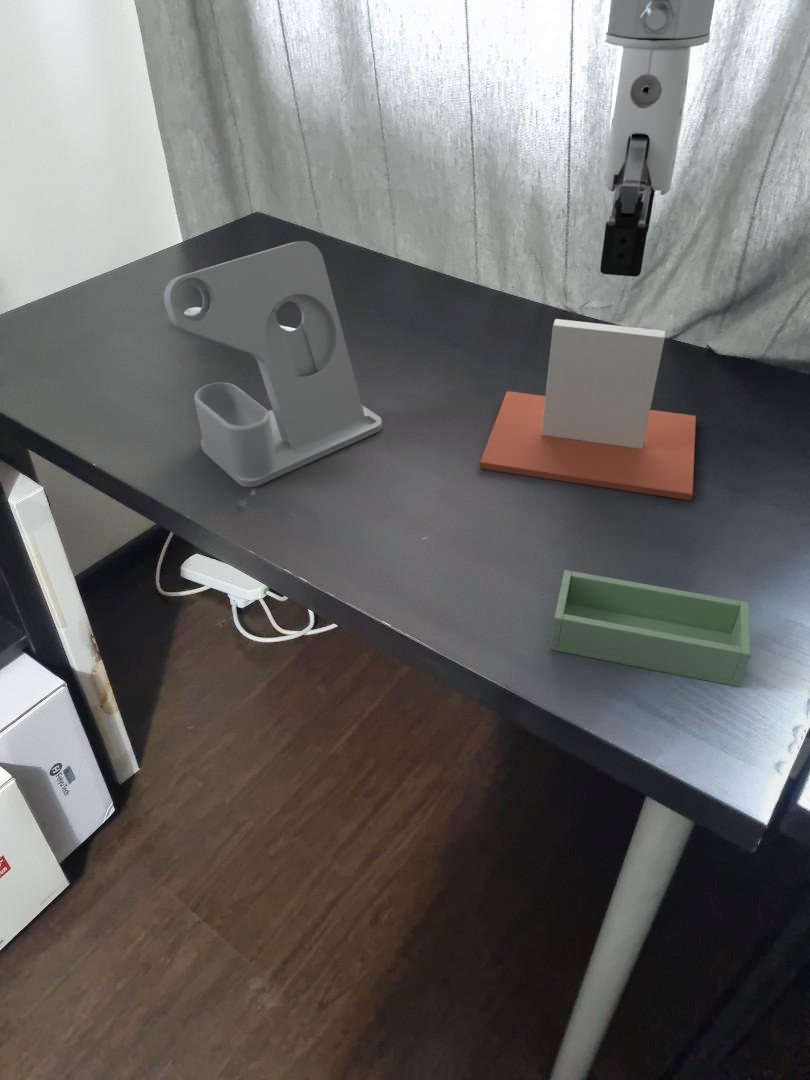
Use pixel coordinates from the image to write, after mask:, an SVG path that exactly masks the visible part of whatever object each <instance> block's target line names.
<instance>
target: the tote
mask: <svg viewBox="0 0 810 1080" xmlns="http://www.w3.org/2000/svg"><path fill="white" fill-rule="evenodd" d="M562 574H563V575H562V580H561V584H560V589H559V594H558V598H557V602H556V609H555V612H554V616H553V624H552V630H551V638H550V646H549V650H551V651H555V652H561V653H565V654H570V655H575V656H580V657H585V658H591V659H596V660H601V661H605V662H610V663H611V662H612V663H616V664H621V665H626V666H631V667H637V668H641V669H645V670H651V671H657V672H661V673H665V674H671V675H676V676H681V677H687V678H692V679H697V680H702V681H707V682H712V683H716V684H723V685H727V686H731V687H732V686H733V687H736V688H737V687H738V688H739V687H740V684H741V682H742V680H743V676H744V675H745V672H746V670H747V669H746V668H747V666H748V664H749V661H750V658H751V656H752V650H751V646H752V645H751V625H750V624H751V620H750V619H751V618H750V602H749V601H743V600H738V599H731V598H726V597H721V596H715V595H709V594H705V593H704V594H703V593H697V592H692V591H687V590H682V589H681V590H680V589H675V588H670V587H664V586H657V585H653V584H646V583H641V582H636V581H630V580H626V579H625V580H624V579H618V578H612V577H606V576H601V575H595V574H591V573H584V572H579V571H573V570H567V569H564V570H563V573H562Z"/></svg>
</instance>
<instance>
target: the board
mask: <svg viewBox="0 0 810 1080" xmlns="http://www.w3.org/2000/svg"><path fill="white" fill-rule="evenodd" d="M665 339H666V330H661V329H651V328H642V327H633V326H622V325H616V324H606V323H598V322H597V323H596V322H589V321H588V322H587V321H580V320H579V321H577V320H571V319H570V320H569V319H560V318H555V319H554V321H553V325H552V331H551V342H550V350H549V359H548V369H547V377H546V378H547V379H546V387H545V395H544V396H545V404H544V414H543V423H542V432H541V435H546V436H553V437H560V438H567V439H575V440H582V441H589V442H596V443H603V444H610V445H617V446H624V447H631V448H638V449H642V447H643V442H644V437H645V432H646V427H647V423H648V418H649V413H650V410H651V407H652V402H653V398H654V394H655V393H654V392H655V388H656V383H657V378H658V373H659V369H660V364H661V358H662V355H663V354H662V353H663V348H664V343H665Z"/></svg>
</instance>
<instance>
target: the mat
mask: <svg viewBox="0 0 810 1080" xmlns="http://www.w3.org/2000/svg"><path fill="white" fill-rule="evenodd" d="M544 404H545V395H539V394H532V393H524V392H516V391H506V392H505V395H504V398H503V400H502V403H501V406H500V408H499V411H498V414H497V416H496V419H495V422H494V423H493V427H492V428H491V431H490V435H489V437H488V440H487V443H486V445H485V448H484V450H483V453H482V456H481V458H480V461H479V469H480V470H485V471H486V470H488V471H495V472H499V473H507V474H513V475H520V476H525V477H532V478H539V479H540V478H541V479H546V480H552V481H560V482H566V483H571V484H572V483H573V484H577V485H578V484H579V485H585V486H592V487H599V488H604V489H611V490H619V491H624V492H632V493H637V494H644V495H645V494H646V495H650V496H657V497H665V498H671V499H676V500H677V499H678V500H684V501H690V502H691V501H692V499H693V495H694V479H695V478H694V477H695V475H694V474H695V452H696V450H695V449H696V427H697V416H696V415H692V414H685V413H676V412H671V411H670V412H669V411H663V410H662V411H661V410H654V409H650V413H649V418H648V423H647V427H646V432H645V437H644V442H643V447H642V449H638V448H631V447H624V446H617V445H610V444H603V443H596V442H589V441H582V440H575V439H567V438H560V437H553V436H546V435H541V432H542V423H543V414H544Z"/></svg>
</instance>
